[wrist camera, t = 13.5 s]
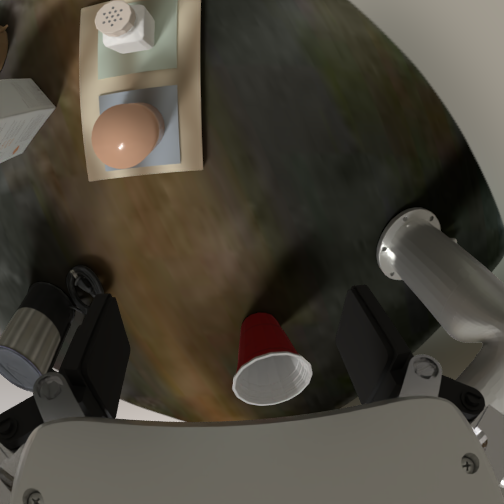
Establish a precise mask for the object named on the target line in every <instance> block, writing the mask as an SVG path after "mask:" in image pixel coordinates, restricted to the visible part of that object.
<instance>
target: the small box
mask: <svg viewBox="0 0 504 504" xmlns="http://www.w3.org/2000/svg"><path fill="white" fill-rule="evenodd" d="M55 108H56V107H55V106H54V105H53V103H52V102H51V101H50V100H49V99H48V98H47V96H46V95H45V94H44V93H43V92H42V91H41V90H40V88H39V87H38V86H37V85H36V84H35V83H34V81H33V80H32V79H31V78H27V79H4V80H0V163H2V162H4V161H6V160H8V159H10V158H12V157H14V156H17V155H19V154H21V153H23V152H24V150H25V149H26V147H27V146H28V144H29V143H30V142H31V140H32V139H33V137H34V136H35V135H36V133H37V132H38V130H39V129H40V128H41V126H42V125H43V124H44V122H45V121H46V120H47V118H48V117H49V116H50V115H51V113H52V112H53V111H54V109H55Z"/></svg>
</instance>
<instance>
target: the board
mask: <svg viewBox="0 0 504 504" xmlns="http://www.w3.org/2000/svg"><path fill="white" fill-rule="evenodd" d="M113 1H124V2H126V3H127V4H129V5H138V4H139V5H143V6H145V8H146V9H147V10H148V12H149V13H150V15H151V16H152V17H153V19H154V21H155V32H154V46H153V48H151V49H149V50H144V51H137V52H131V53H125V54H122V53H119V52H117V51H114V50H112V49H110V48H108V47H105V45H104V43H103V33H102V32H101V31H99V30H98V29H96V25H95V18H96V15H97V12H98V11H99V10H100V9H101V8H102V7H103V6H104V5H105V4H107V3H109V2H112V1H108V2H104V3H100V4H96V5H93V6H89V7H85V8H82V9H81V19H80V40H79V82H80V104H81V118H82V130H83V140H84V148H85V157H86V164H87V171H88V178H89V182H90V181H97V180H104V179H111V178H119V177H128V176H137V175H146V174H156V173H167V172H179V171H193V170H203V151H202V123H201V73H200V29H201V0H113ZM138 102H143V103H148V104H151V105H153V106H154V107H156V108H157V109H158V110H159V111H160V113H161V114H162V116H163V119H164V123H165V131H164V135H163V138H162V140H161V142H160V143H159V144H158V146H157V147H156V148H155V149H154V150H153V151H152V152H151V153H150V154H149V155H148V156H147V157H146V158H145V159H144V160H143V161H141V162H140V163H139V164H137V165H135V166H133V167H130V168H126V169H116V168H112V167H109V166H108V165H106V164H104V163H103V162H102V161H101V160H100V159H99V158H98V157H97V155H96V154H95V152H94V150H93V146H92V139H91V137H92V130H93V127H94V124H95V122H96V120H97V119H98V117H99V116H100V115H101V114H102V113H103V112H104V111H105V110H107V109H108V108H110V107H112V106H115V105H119V104H128V103H138Z"/></svg>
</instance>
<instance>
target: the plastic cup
mask: <svg viewBox="0 0 504 504" xmlns="http://www.w3.org/2000/svg"><path fill="white" fill-rule="evenodd" d="M311 376H312V369H311V365H310V363H309V362H308V361H307V360H305V359H304V358H303V357H302V356H301V355H299V354H298V352H296V350H295V348H294V347H293V345H292V344H291V342H290V340H289V339H288V337H287V335H286V334H285V332H284V331H283V330H282V328H281V326H280V325H279V323H278V321H277V320H276V319H275V318H274V317H273V316H272V315H270V314H268V313H255V314H252V315H250V316H249V317H247V318H246V319H245V320H244V321H243V323H242V326H241V334H240V342H239V355H238V367H237V372H236V374H235V376H234V379H233V388H232V389H233V391H234V393H235V394H236V396H237V398H239V399H241V400H242V401H244V402H246V403H248V404H254V405H259V406H263V405H275V404H278V403H281V402H284V401H287V400H289V399H291V398H293V397H294V396H296V395H298V394H299V393H301V392H302V390H303V389H304V388H305V387H306V386H307V385H308V384H309V382H310V379H311Z"/></svg>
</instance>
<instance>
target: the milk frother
mask: <svg viewBox="0 0 504 504" xmlns="http://www.w3.org/2000/svg"><path fill="white" fill-rule="evenodd" d="M74 277H75V278H76V281H75V284H74ZM66 284H67V287H68V291H69V294H70V296H71V298H72V300H73V301H74V303H75V304H76V305H77V306H78V307H79V308H80V309H79V308H77V307H75V306H73V305H72V302H71V301H70V299H69V298H68V296H67V295H66V294H65V293H64V292H63V291H62V290H61V289H59V288H58V287H56V286H55V285H52V284H50V283H46V282H37V283H34V284H33V285H31V287H30V288H29V290H28V293H27V295H26V297H25V298H24V300H23V302H22V303H21V305H20V306H19V308H18V309H17V311H16V313H15V314H14V316H13V317H12V319H11V320H10V322H9V323H8V325H7V327H6V328H5V330H4V332H3V333H2V335H1V337H0V374H1V375H2V376H3V377H5V378H6V379H7V380H8V381H10V382H11V383H12V384H14V385H16V386H17V387H19V388H22V389H24V390H26V391H30V392H33V385H34V383H35V381H36V380H37V379H38V378H39V377H40V376H42V375H43V374H45V373H48V372H56V371H54V370H53V369H52V368H53V366H54V363H55V361H56V358H57V356H58V354H59V351H60V349H61V347H62V344H63V342H64V339H65V337H66V335H67V333H68V330H69V328H70V326H71V323H72V321H73V319H74V309H75V310H77V311H79V312H81V313H82V314H85V315H86V314H87V312H88V310H89V308H90V307H89V306H87V305H85V304H84V303H83V302H82V301H81V300H80V298H79V297H78V295H77V293H76V291H75V287H74V285H75V286H76V285H78V286H79V287H80V288H81V289H83V290H84V291H86V292H87V293H90V294H91V295H92V296H93V298H94V297H95V295H96V294H104V291H103V288H102V285H101V283H100V281H99V279H98V277H97V276H96V274H95V273H94V272H93V271H92V270H91V269H89V268H88V267H86V266H83V265H77V266H75V267H73V268H72V269H71V270H70V271H69V273H68V275H67V279H66ZM56 373H58V372H56Z"/></svg>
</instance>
